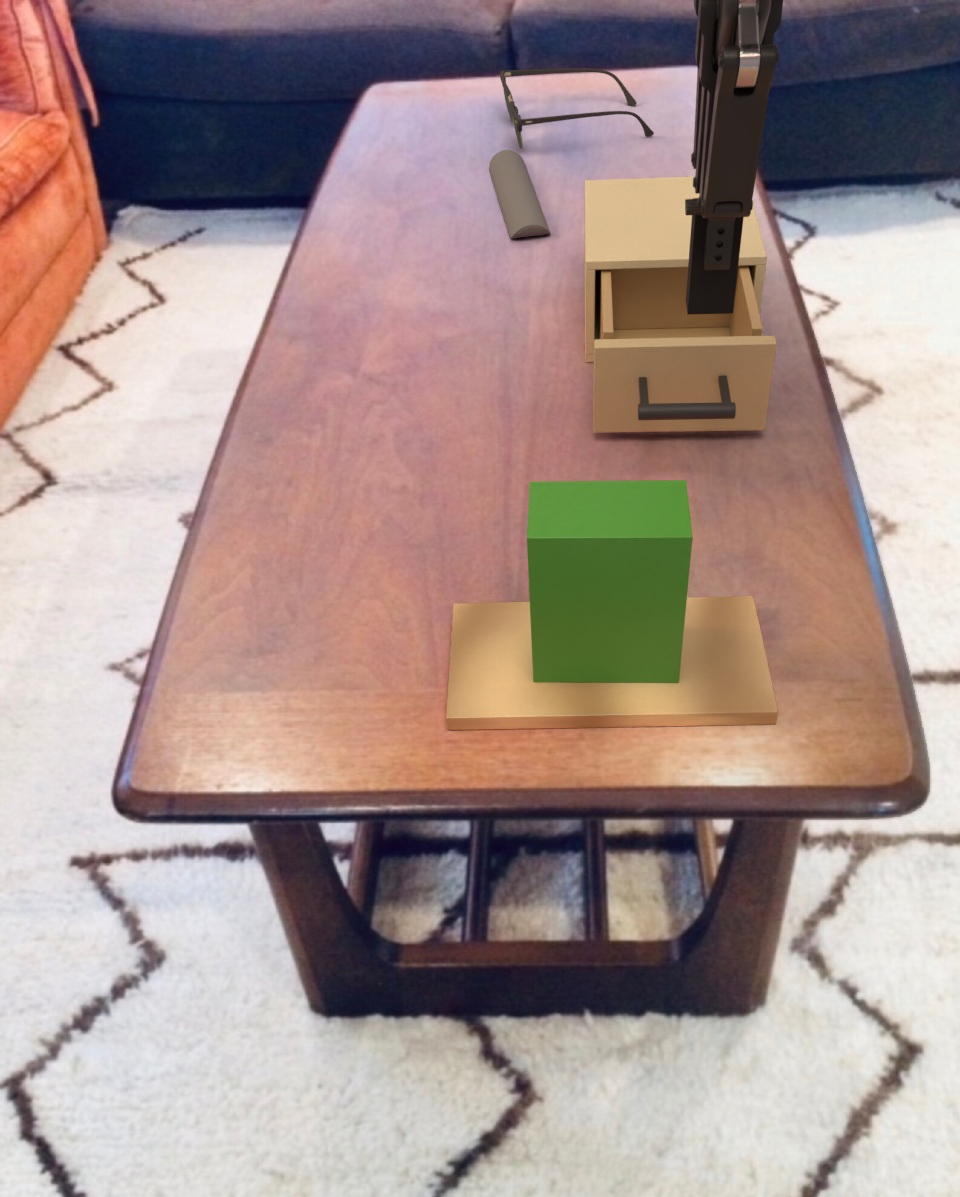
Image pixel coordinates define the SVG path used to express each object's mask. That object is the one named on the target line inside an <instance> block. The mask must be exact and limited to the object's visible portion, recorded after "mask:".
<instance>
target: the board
mask: <svg viewBox="0 0 960 1197" xmlns="http://www.w3.org/2000/svg"><path fill="white" fill-rule="evenodd" d="M756 606H757V605H756V601H755V597H754V595H737V596H736V595H735V596H734V595H732V596H697V597H695V596H693V597H687V603H686V613H685V624H684V634H683V645H682V655H681V666H680V676H679V683H577V682H533V665H532V643H531V621H530V601H500V602H499V601H496V602H495V601H494V602H493V601H492V602H460V603H459V602H455V603H453V607H452V621H451V623H452V624H451V637H450V651H449V652H450V653H449V667H448V681H447V682H448V683H447V697H446V714H445V719H446V720H445V721H446V728H447V731H468V730H471V731H472V730H476V731H477V730H522V729H524V730H527V729H528V730H529V729H575V728H576V729H579V728H583V729H584V728H586V729H587V728H634V727H635V728H637V727H638V728H639V727H640V728H641V727H642V728H645V727H646V728H647V727H689V726H690V727H692V726H695V727H697V726H699V727H700V726H748V725H749V726H751V725H757V726H759V725H776V724H777V721H778V713H779V709H778V704H777V700H776V695H775V690H774V686H773V681H772V677H771V672H770V667H769V663H768V658H767V653H766V649H765V644H764V639H763V634H762V630H761V626H760V621H759V620H760V619H759V616H758V615H759V614H758V611H757V607H756Z"/></svg>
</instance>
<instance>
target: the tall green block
mask: <svg viewBox="0 0 960 1197" xmlns="http://www.w3.org/2000/svg"><path fill="white" fill-rule="evenodd" d="M687 484H688V483H687V479H664V480H663V479H658V480H656V479H654V480H651V479H650V480H645V479H643V480H566V481H565V480H563V481H561V480H560V481H559V480H558V481H557V480H555V481H553V480H552V481H550V480H549V481H548V480H547V481H529V485H528V486H529V488H528V504H527V505H528V508H527V523H526V524H527V526H526V550H527V575H528V576H527V577H528V595H529V596H528V597H529V602H530V621H531V643H532V665H533V682H577V683H679V676H680V666H681V655H682V645H683V634H684V624H685V613H686V603H687V598H688V592H689V591H688V590H689V581H690V571H691V570H690V569H691V558H692V548H693V539H694V538H693V536H694V535H693V528H692V518H691V510H690V500H689V492H688V485H687Z"/></svg>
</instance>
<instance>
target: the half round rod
mask: <svg viewBox="0 0 960 1197" xmlns="http://www.w3.org/2000/svg"><path fill="white" fill-rule="evenodd" d="M488 169H489V170H488V171H489V174H490V177H491V180H492V183H493V186H494V187H493V188H494V190H495V193H496V196H497V200H498V203H499V207H500V209H501V213H502V217H503V220H504V223H505V226H506V229H507V232H508V236H509V238H510V239H519V238H528V237H535V236H536V237H537V236H545V235H550V234H551V231H550V228H549V225H548V223H547V219H546V217H545V214H544V212H543V209H542V206H541V203H540V201H539V198H538V195H537V192H536V190H535V186H534V185H533V182H532V179H531V176H530V174H529V171H528V168H527V165H526V163H525V161H524V158H523V157H522V156H521V154H520V153H518V152H517V151H515V150H511V149H504V150H500V151H498V152H497V153H495V154H494V155H493V156H492V158H491V160H490V161H489V167H488Z"/></svg>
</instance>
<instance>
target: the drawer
mask: <svg viewBox="0 0 960 1197" xmlns="http://www.w3.org/2000/svg"><path fill="white" fill-rule="evenodd" d="M687 276H688V267H673V268H637V269H601V278H600V339H595V340H594V362H593V402H592V403H593V404H592V405H593V406H592V408H593V410H592V412H593V414H592V417H593V418H592V426H593V427H592V431H593V432H592V433H595V434H596V433H597V434H598V433H600V434H601V433H654V432H655V433H659V432H660V433H664V432H665V433H666V432H668V433H669V432H715V431H716V432H723V431H724V432H725V431H726V432H730V431H731V432H732V431H738V432H739V431H765V429H766V424H767V416H768V408H769V402H770V394H771V390H772V388H771V387H772V380H773V373H774V367H775V359H776V352H777V347H778V346H777V345H778V343H777V338H776V336H775V335H763V331H764V330H763V329H764V328H763V324H762V319H761V313H760V314H759V310H758V305H757V301H756V297H755V292H754V288H753V284H752V279H751V275H750V271H749V266H748V265H744V266H738V273H737V282H736V291H735V300H734V310H733V313H730V314H689V315H687V307H686V290H687Z"/></svg>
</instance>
